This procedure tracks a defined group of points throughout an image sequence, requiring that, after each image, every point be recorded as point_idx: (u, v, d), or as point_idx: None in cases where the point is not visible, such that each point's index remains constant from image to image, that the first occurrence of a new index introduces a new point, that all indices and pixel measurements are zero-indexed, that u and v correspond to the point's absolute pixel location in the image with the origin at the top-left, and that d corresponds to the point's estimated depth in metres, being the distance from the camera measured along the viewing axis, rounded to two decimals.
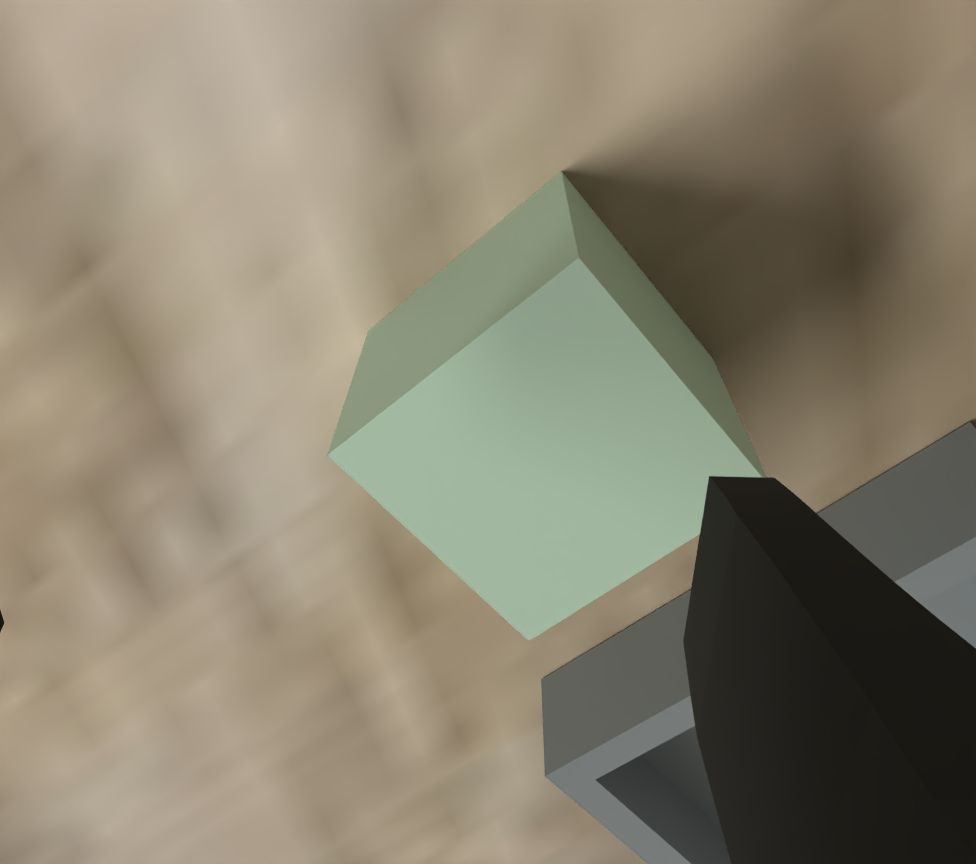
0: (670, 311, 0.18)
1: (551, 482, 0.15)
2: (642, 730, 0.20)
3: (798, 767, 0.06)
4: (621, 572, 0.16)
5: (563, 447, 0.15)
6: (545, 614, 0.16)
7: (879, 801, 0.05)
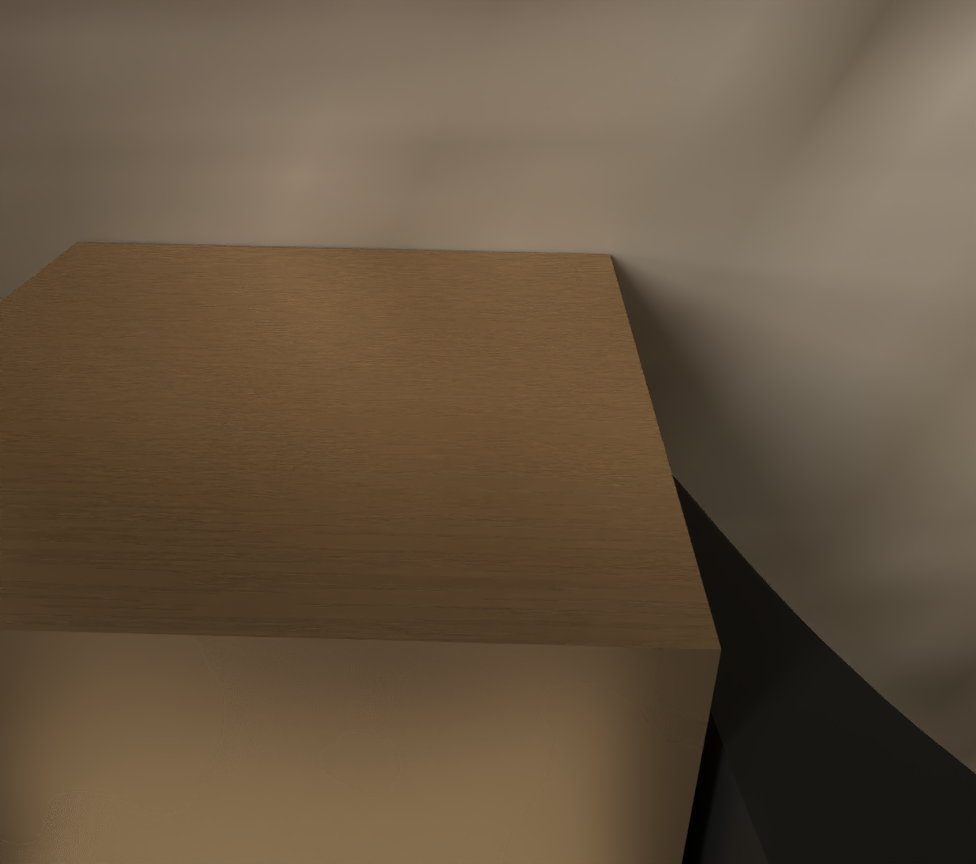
0: None
1: None
2: None
3: None
4: None
5: None
6: None
7: (709, 797, 0.05)
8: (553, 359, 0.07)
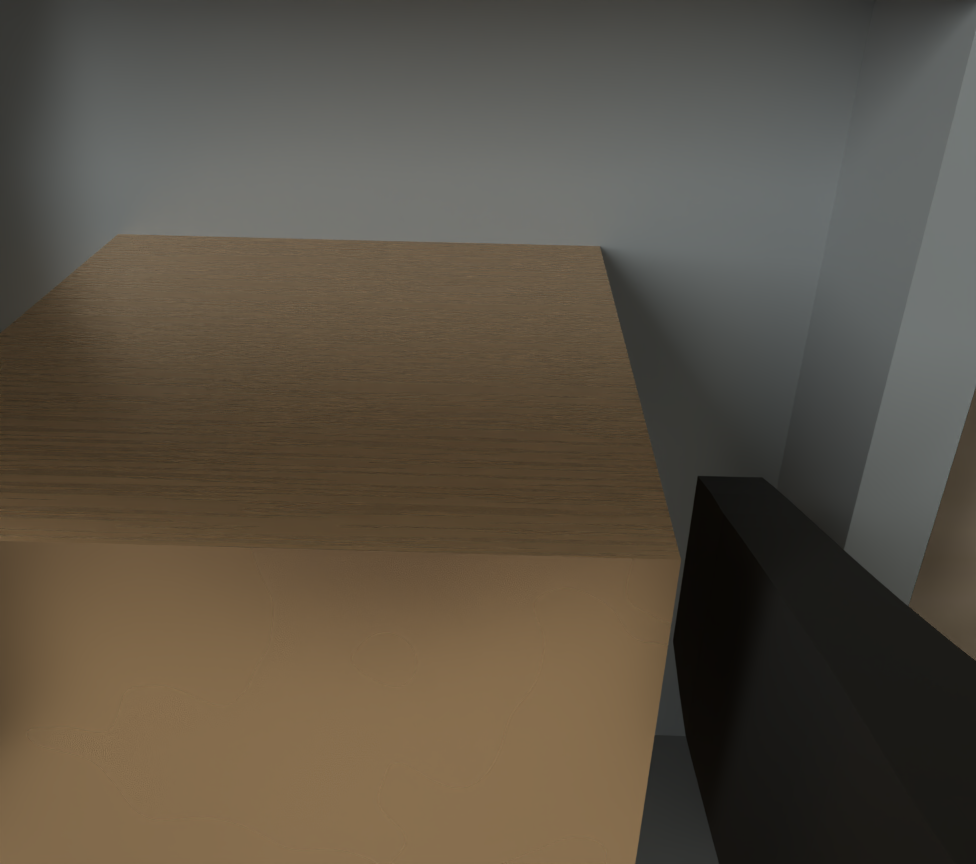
0: None
1: None
2: None
3: (783, 765, 0.06)
4: None
5: None
6: None
7: (860, 801, 0.05)
8: (546, 335, 0.08)
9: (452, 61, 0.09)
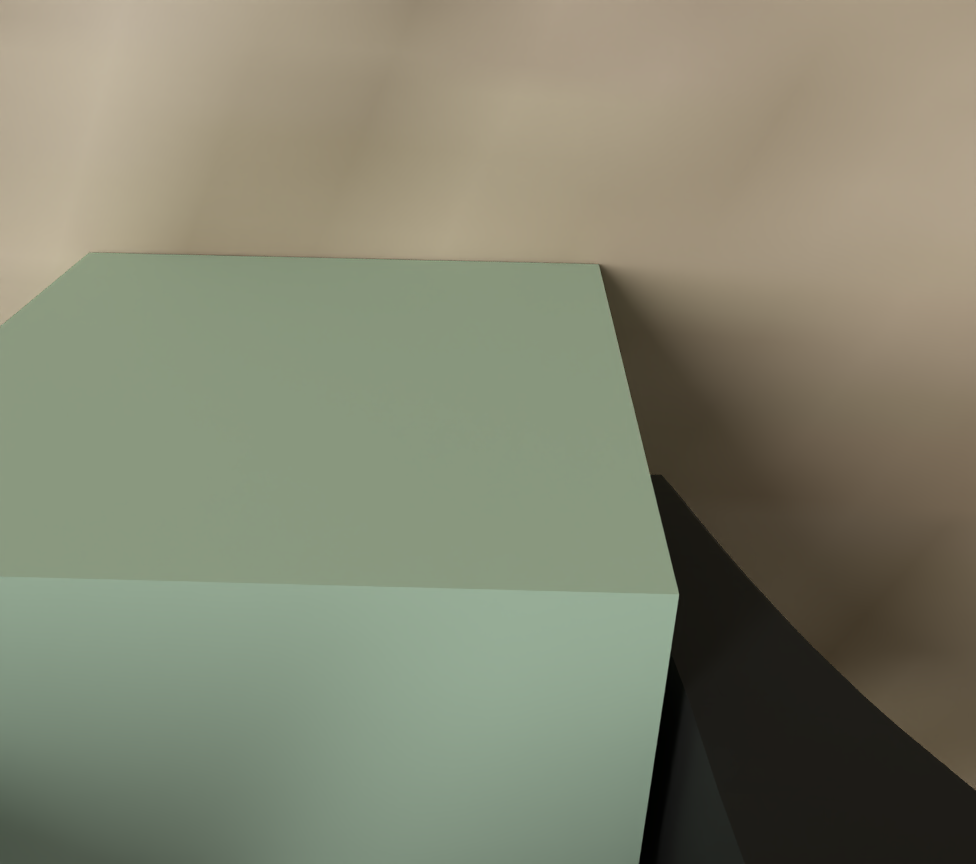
0: None
1: None
2: None
3: None
4: None
5: None
6: None
7: (690, 795, 0.05)
8: None
9: None
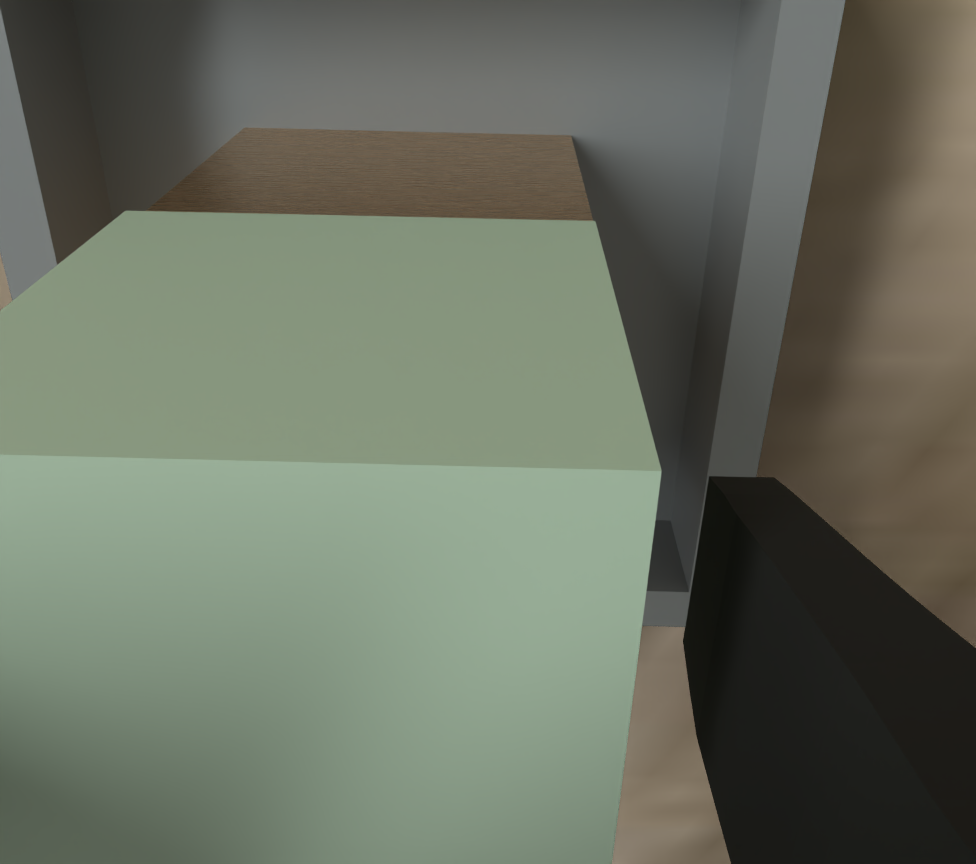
0: None
1: (266, 771, 0.07)
2: None
3: (798, 767, 0.06)
4: None
5: (337, 733, 0.07)
6: None
7: (879, 801, 0.05)
8: (533, 172, 0.13)
9: (472, 7, 0.14)
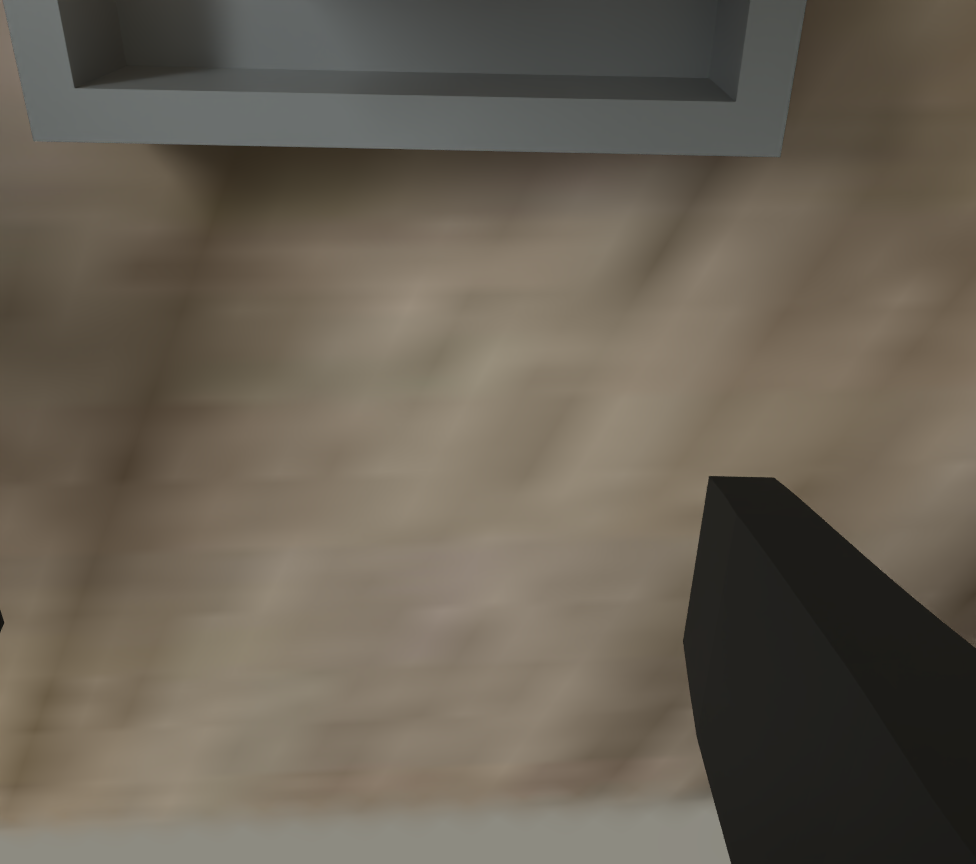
0: None
1: None
2: None
3: (798, 765, 0.06)
4: None
5: None
6: None
7: (879, 801, 0.05)
8: None
9: None
